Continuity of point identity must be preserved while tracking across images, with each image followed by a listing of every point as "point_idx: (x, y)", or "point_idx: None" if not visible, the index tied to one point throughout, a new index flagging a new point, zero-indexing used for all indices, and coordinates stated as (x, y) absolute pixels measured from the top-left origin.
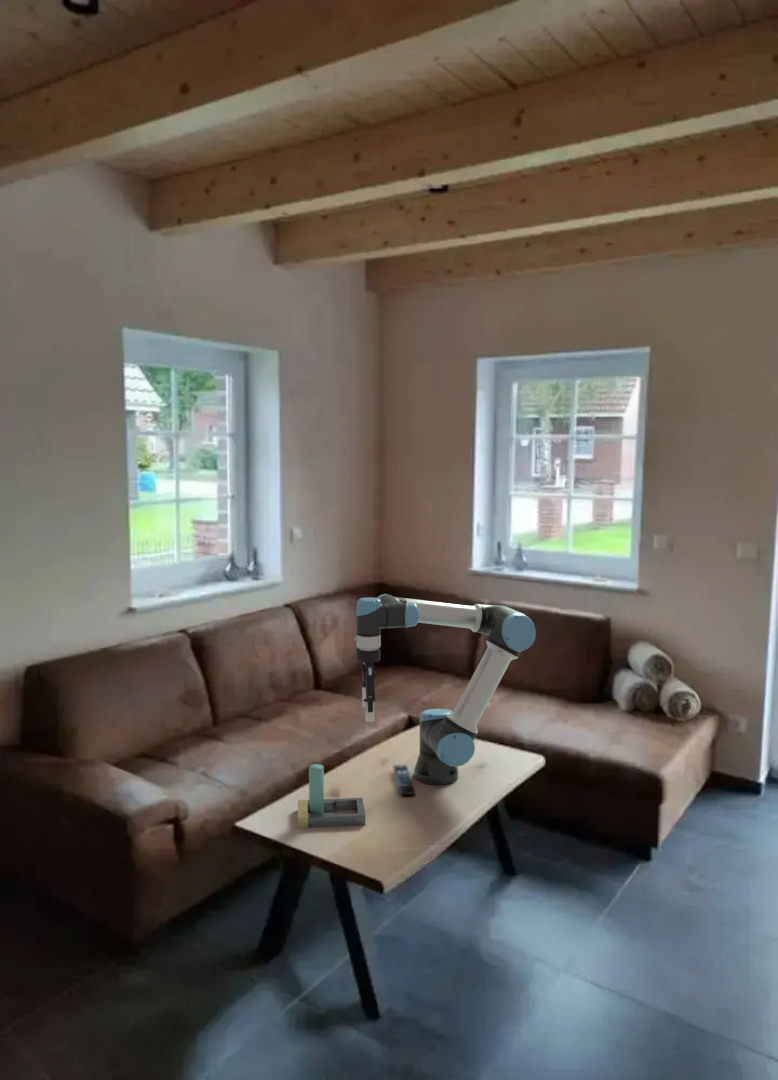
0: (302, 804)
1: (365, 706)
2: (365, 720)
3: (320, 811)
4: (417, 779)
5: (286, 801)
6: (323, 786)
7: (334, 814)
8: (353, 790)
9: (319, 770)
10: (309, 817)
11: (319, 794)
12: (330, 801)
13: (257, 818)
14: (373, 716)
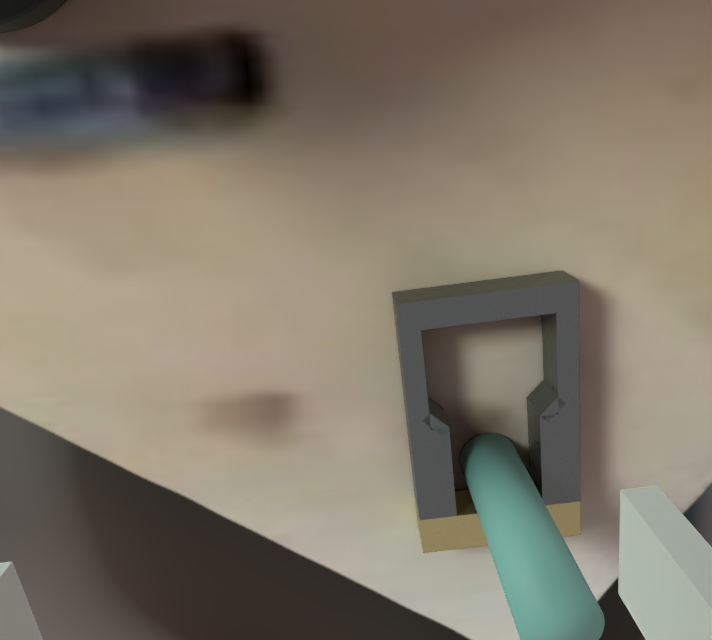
0: (461, 533)
1: (28, 634)
2: (632, 602)
3: (522, 462)
4: (51, 12)
5: (345, 570)
6: (536, 518)
7: (558, 409)
8: (221, 339)
9: (597, 605)
10: (576, 496)
11: (549, 513)
12: (434, 435)
13: (479, 633)
14: (706, 554)
